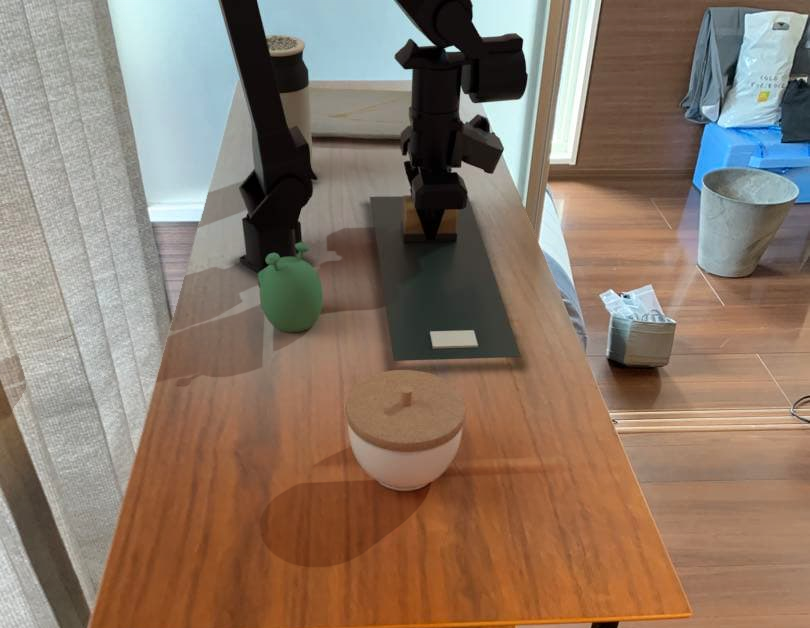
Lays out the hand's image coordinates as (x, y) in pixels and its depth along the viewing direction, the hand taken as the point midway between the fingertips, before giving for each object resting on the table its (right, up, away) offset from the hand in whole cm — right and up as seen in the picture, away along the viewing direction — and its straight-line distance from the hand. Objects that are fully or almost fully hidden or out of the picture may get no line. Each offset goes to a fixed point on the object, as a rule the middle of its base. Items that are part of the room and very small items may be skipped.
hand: (428, 231), depth 109 cm
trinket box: (-3, -34, -30) cm, 45 cm away
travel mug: (-21, +13, +14) cm, 28 cm away
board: (+1, -7, -4) cm, 8 cm away
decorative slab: (-11, +30, +30) cm, 44 cm away
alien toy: (-16, -16, -13) cm, 27 cm away
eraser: (0, 0, 0) cm, 0 cm away
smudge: (+2, -18, -16) cm, 25 cm away
